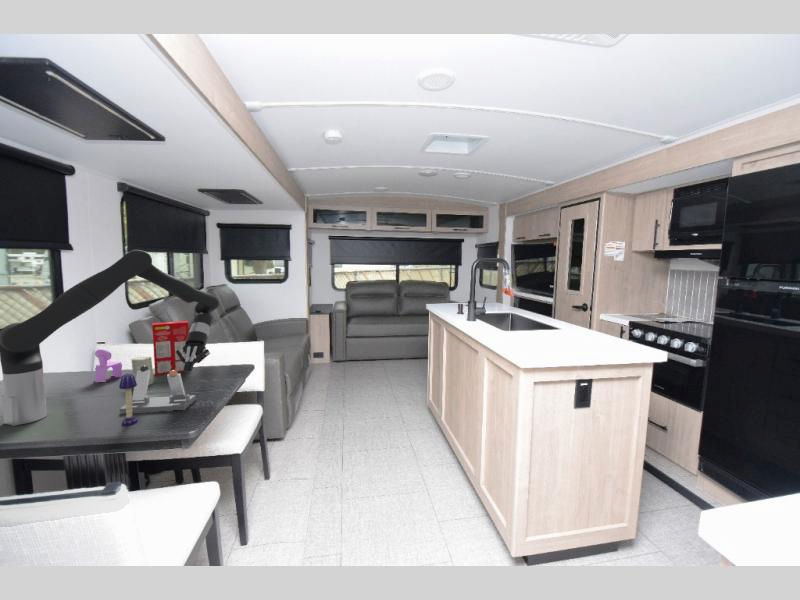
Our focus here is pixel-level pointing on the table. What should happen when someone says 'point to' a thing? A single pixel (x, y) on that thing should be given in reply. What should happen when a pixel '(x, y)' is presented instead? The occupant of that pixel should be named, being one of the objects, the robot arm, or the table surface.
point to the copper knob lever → (176, 385)
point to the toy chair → (106, 366)
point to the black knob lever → (141, 384)
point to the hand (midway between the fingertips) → (187, 371)
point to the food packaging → (169, 346)
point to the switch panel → (159, 404)
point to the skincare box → (142, 361)
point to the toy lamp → (128, 397)
